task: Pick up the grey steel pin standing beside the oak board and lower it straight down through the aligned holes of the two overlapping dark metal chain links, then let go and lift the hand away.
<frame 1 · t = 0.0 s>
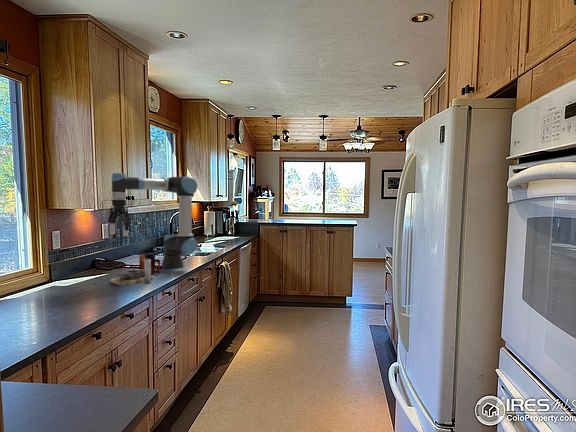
hand: (119, 235, 228), 28 cm above the countertop, tool pointing down, fingers open, 13 cm apart
chain ends: (132, 281, 231), on the countertop
mug: (150, 273, 253), on the countertop
steel pin: (147, 283, 227), on the countertop
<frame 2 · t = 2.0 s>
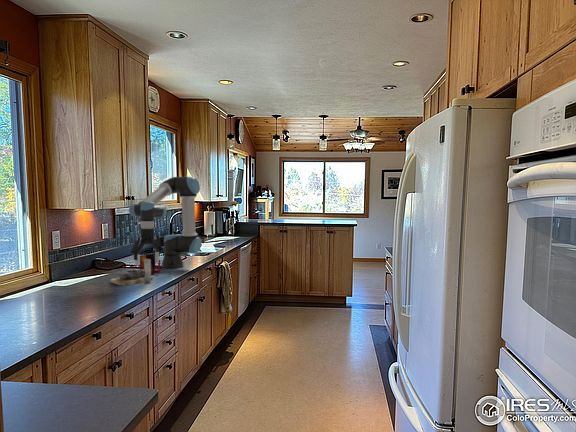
hand: (147, 264, 226), 11 cm above the countertop, tool pointing down, fingers open, 13 cm apart
nothing on the countertop moved.
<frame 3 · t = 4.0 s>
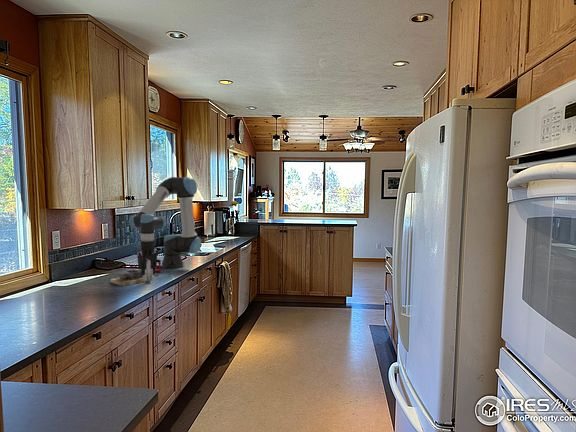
hand: (147, 279, 227), 2 cm above the countertop, tool pointing down, fingers closed on steel pin, 3 cm apart
steel pin: (147, 283, 227), on the countertop, touching gripper
everything else where it was.
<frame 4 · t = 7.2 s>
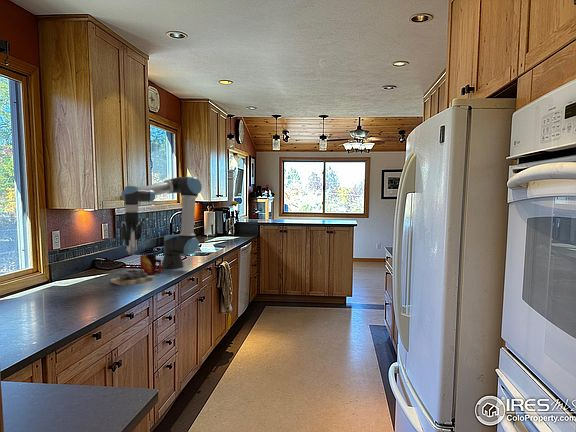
hand: (131, 250, 230), 19 cm above the countertop, tool pointing down, fingers closed on steel pin, 3 cm apart
steel pin: (131, 254, 230), point 16 cm above the countertop, touching gripper
everything else where it was.
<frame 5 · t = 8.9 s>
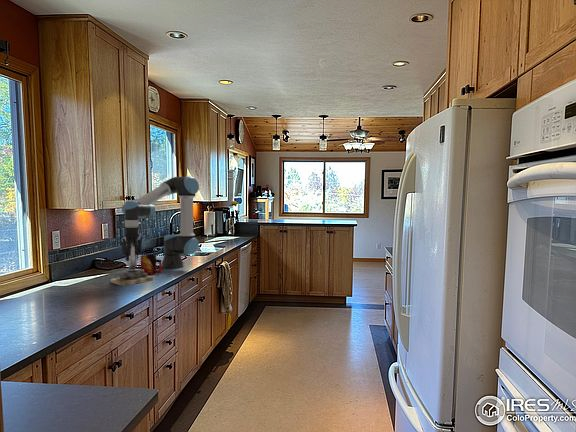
hand: (131, 265, 231), 10 cm above the countertop, tool pointing down, fingers closed on steel pin, 3 cm apart
steel pin: (131, 269, 231), point 7 cm above the countertop, touching gripper
everything else where it was.
when the fingers open (7 cm above the countertop, at t = 10.5 s): steel pin drops 2 cm, resting on chain ends.
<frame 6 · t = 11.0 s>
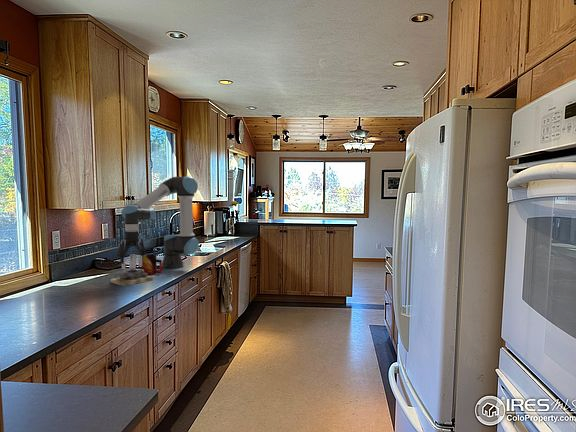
hand: (132, 267, 231), 8 cm above the countertop, tool pointing down, fingers open, 10 cm apart
steel pin: (132, 277, 231), point 2 cm above the countertop, touching chain ends
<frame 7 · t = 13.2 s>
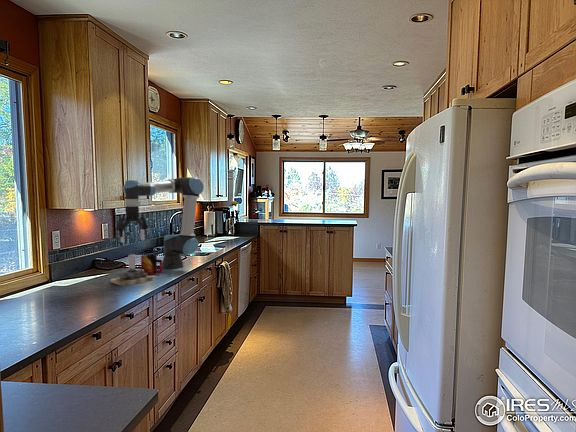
hand: (132, 241, 232), 24 cm above the countertop, tool pointing down, fingers open, 13 cm apart
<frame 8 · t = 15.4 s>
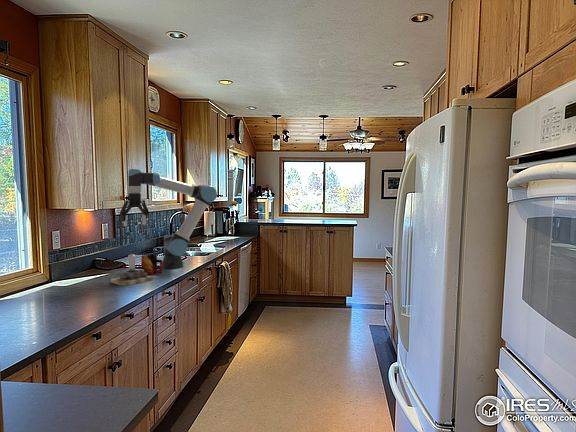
hand: (134, 225, 251), 32 cm above the countertop, tool pointing down, fingers open, 13 cm apart
at the end: steel pin 0.1 cm off-centre on the chain ends, point 2.0 cm above the chain ends's base; steel pin tilted 2°; the gripper is holding nothing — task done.
